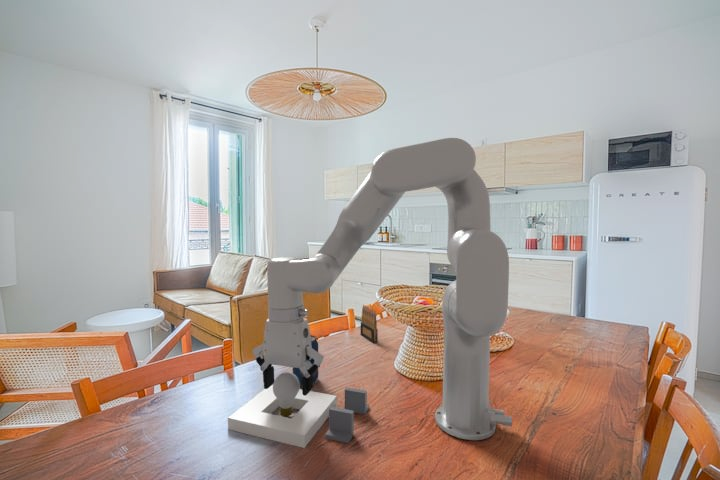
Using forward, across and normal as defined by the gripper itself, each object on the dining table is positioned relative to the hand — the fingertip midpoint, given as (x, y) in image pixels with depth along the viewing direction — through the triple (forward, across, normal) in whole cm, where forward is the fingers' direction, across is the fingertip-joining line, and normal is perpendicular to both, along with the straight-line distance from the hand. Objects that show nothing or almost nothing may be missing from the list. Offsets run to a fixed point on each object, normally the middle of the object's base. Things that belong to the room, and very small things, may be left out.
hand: (287, 389), depth 76 cm
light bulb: (+6, +1, 0) cm, 7 cm away
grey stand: (+7, -13, -3) cm, 15 cm away
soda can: (+7, +5, -17) cm, 19 cm away
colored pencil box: (+7, -1, -56) cm, 56 cm away
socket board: (+6, +1, 0) cm, 6 cm away
